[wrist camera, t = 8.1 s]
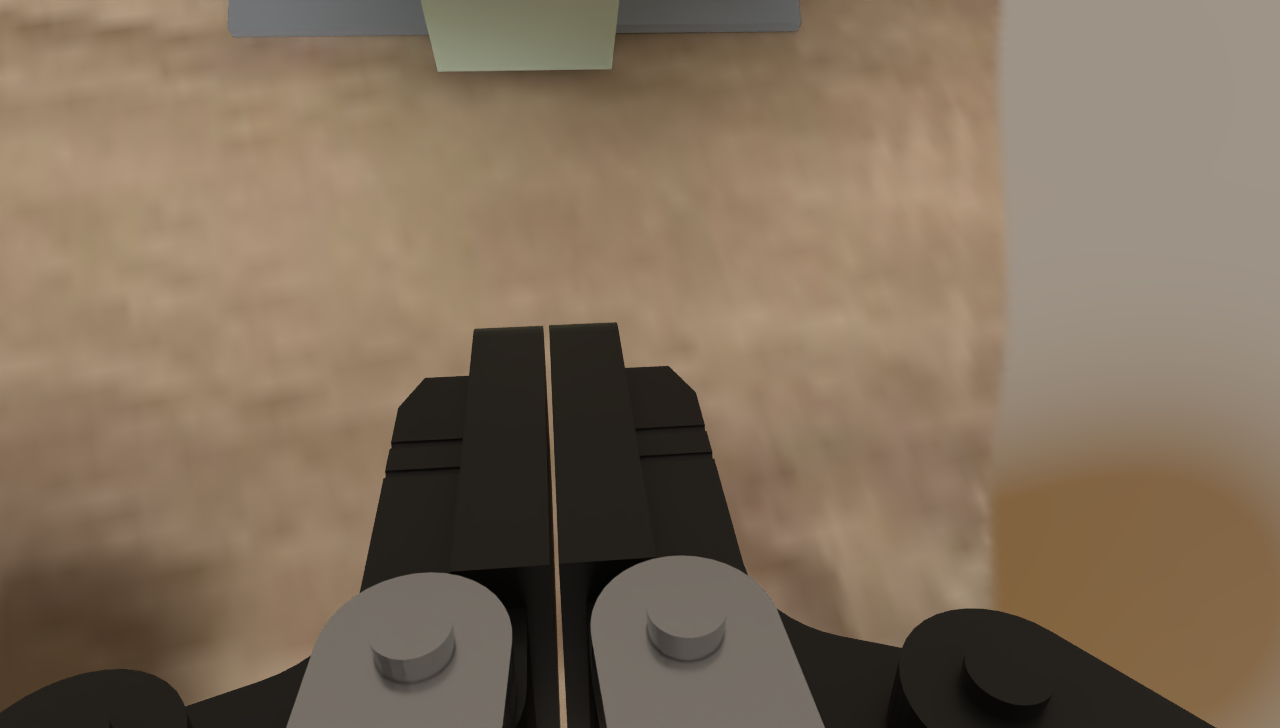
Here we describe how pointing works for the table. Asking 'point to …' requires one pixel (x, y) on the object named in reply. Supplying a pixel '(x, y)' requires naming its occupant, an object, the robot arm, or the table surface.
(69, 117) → the table surface
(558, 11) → the green block
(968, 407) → the table surface
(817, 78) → the table surface
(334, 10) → the felt mat
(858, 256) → the table surface
